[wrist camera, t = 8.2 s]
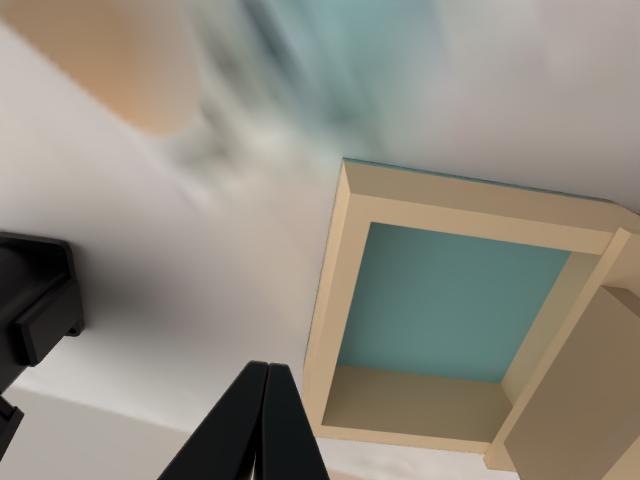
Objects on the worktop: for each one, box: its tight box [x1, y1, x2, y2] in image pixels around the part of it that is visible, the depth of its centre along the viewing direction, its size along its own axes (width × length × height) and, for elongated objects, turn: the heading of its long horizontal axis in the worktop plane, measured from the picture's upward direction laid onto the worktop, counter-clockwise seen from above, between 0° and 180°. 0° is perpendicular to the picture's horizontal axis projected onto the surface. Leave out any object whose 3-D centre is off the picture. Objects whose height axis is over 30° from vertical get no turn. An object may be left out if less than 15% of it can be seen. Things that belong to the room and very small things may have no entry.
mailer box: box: [302, 158, 640, 454], centre depth 19 cm, size 14×14×5 cm
